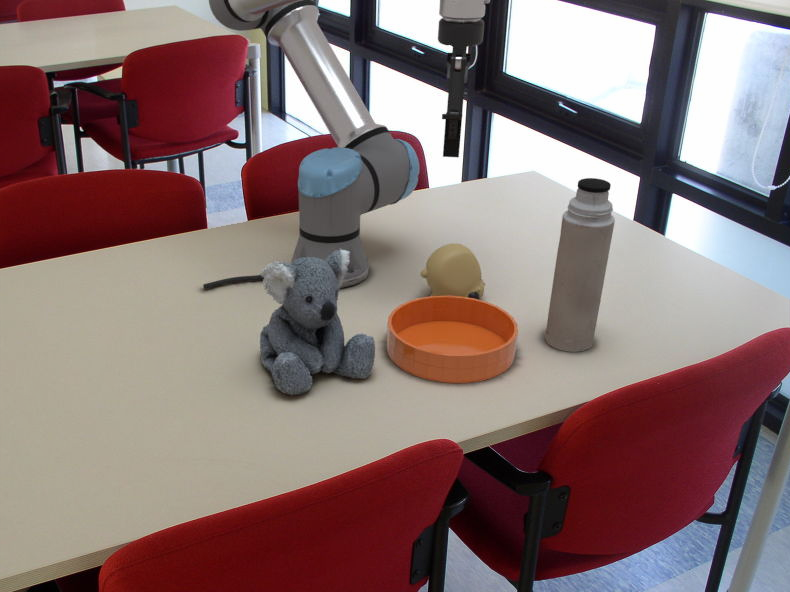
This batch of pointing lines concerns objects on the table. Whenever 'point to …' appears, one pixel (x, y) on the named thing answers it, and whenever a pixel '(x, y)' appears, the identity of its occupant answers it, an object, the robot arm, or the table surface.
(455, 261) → the beige pug toy
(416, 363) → the pan
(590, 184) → the thermos bottle
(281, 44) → the robot arm
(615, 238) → the table surface
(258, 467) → the table surface
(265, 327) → the koala plush
